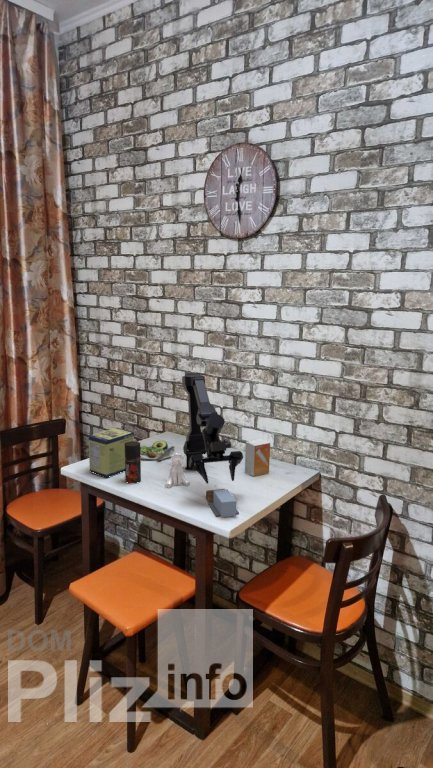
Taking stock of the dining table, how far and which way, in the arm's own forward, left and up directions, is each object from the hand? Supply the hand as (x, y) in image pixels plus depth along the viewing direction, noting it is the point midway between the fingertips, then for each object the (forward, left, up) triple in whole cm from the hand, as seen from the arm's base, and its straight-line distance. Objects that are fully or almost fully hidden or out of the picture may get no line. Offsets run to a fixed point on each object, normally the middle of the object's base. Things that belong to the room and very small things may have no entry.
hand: (220, 481), depth 181 cm
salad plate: (-38, +46, -9) cm, 61 cm away
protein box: (-49, +23, -9) cm, 55 cm away
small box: (+9, +33, -9) cm, 36 cm away
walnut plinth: (-2, +4, -8) cm, 10 cm away
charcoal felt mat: (+2, -3, -8) cm, 9 cm away
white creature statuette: (-20, +15, -9) cm, 27 cm away
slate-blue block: (0, 0, -5) cm, 5 cm away
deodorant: (-37, +14, -9) cm, 40 cm away
